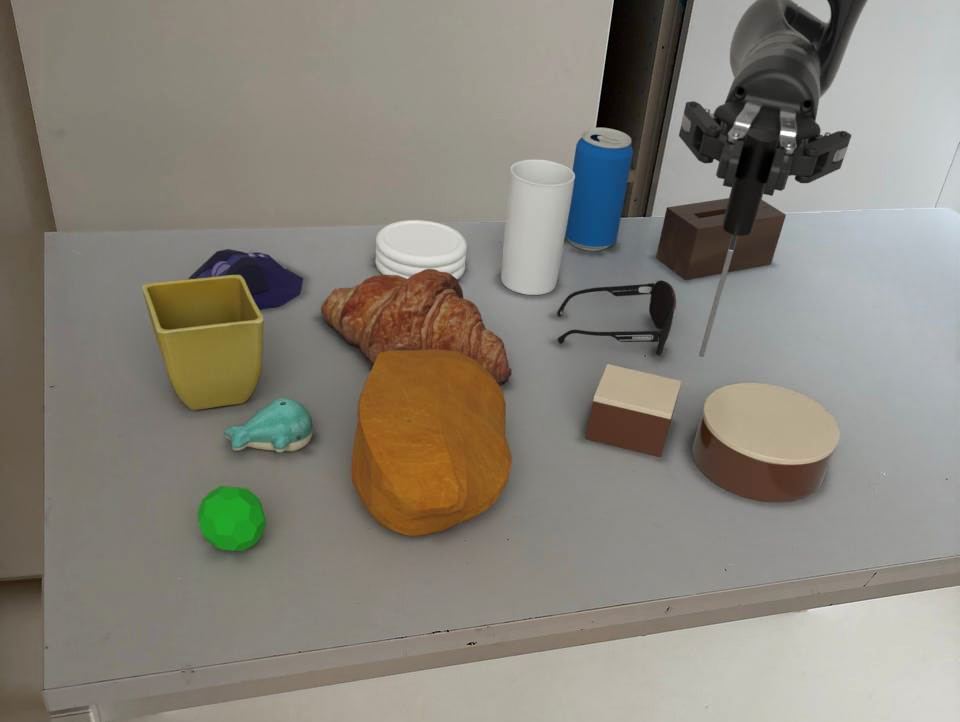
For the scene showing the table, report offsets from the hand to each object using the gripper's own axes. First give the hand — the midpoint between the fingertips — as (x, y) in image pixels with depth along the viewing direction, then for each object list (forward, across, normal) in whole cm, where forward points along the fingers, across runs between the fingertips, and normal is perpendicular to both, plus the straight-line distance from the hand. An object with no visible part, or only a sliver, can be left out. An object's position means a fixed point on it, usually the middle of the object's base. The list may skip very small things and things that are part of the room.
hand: (751, 177), depth 72 cm
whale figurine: (+12, -34, +25) cm, 44 cm away
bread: (+11, -19, +25) cm, 33 cm away
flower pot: (+7, -42, +25) cm, 49 cm away
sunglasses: (-20, -10, +25) cm, 33 cm away
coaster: (-25, -33, +25) cm, 48 cm away
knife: (-3, 0, +14) cm, 14 cm away
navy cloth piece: (-11, -48, +25) cm, 55 cm away
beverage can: (-41, -17, +25) cm, 51 cm away
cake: (-3, +7, +25) cm, 26 cm away
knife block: (-43, -2, +25) cm, 50 cm away
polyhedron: (+25, -31, +25) cm, 47 cm away
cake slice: (-3, -5, +25) cm, 25 cm away
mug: (-29, -21, +25) cm, 43 cm away
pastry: (-8, -28, +25) cm, 38 cm away
